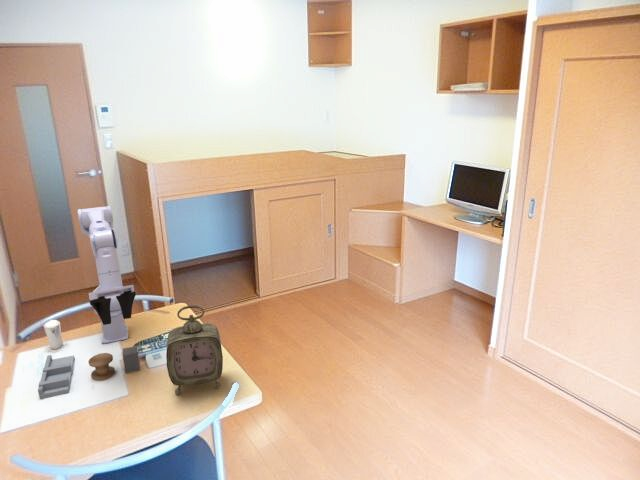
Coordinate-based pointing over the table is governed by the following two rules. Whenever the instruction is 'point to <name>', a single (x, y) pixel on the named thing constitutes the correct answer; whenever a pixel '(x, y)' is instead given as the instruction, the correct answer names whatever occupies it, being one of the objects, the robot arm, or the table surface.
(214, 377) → the tabletop clock
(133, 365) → the dark grey block
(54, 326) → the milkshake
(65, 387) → the grey slotted tray
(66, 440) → the table surface
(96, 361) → the spool
